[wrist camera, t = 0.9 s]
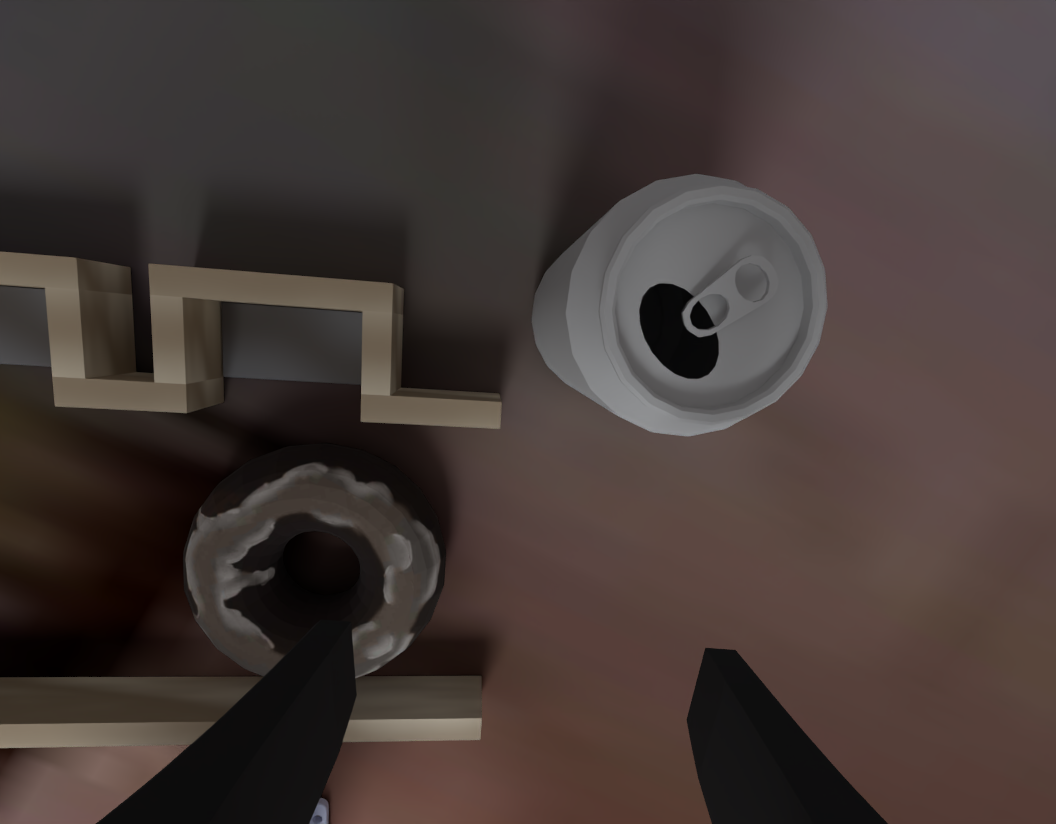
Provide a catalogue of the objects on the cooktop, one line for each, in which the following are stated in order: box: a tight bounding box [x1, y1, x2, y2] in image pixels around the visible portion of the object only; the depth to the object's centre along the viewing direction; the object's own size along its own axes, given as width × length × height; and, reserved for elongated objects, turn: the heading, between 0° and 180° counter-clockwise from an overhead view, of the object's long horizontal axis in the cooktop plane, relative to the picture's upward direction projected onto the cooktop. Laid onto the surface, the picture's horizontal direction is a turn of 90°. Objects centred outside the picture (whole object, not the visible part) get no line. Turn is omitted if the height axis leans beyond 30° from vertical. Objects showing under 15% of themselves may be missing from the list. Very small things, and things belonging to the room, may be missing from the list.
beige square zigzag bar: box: [0, 252, 502, 748], centre depth 22 cm, size 22×31×3 cm
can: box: [531, 174, 827, 436], centre depth 18 cm, size 8×8×12 cm
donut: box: [183, 443, 446, 678], centre depth 23 cm, size 12×12×4 cm
